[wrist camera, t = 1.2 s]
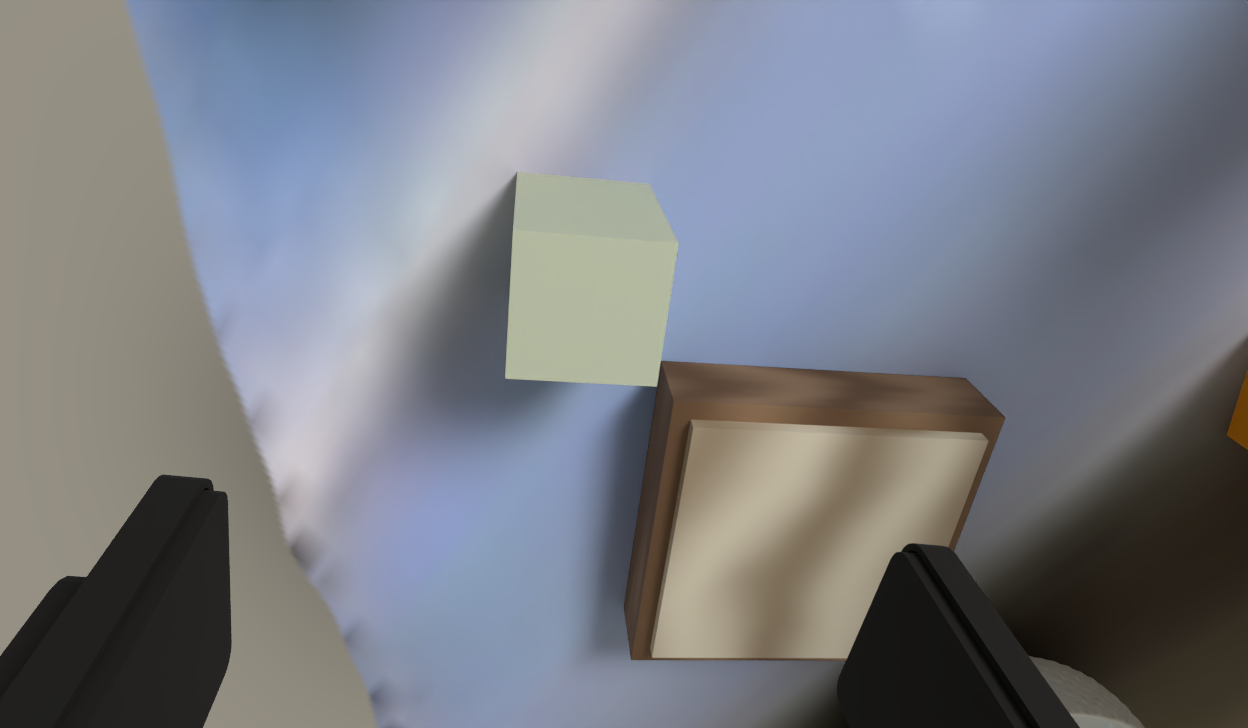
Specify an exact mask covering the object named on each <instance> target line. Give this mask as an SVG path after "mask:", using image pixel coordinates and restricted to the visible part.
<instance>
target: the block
mask: <svg viewBox="0 0 1248 728" xmlns="http://www.w3.org/2000/svg"><path fill="white" fill-rule="evenodd" d="M678 244H679V243H678V241H677V239H676V237H675V235H674V233H673V231H672V229H671V227H670V225H669V223H668V221H667V219H666V217H665V215H664V213H663V211H662V209H661V207H660V205H659V203H658V201H657V198H656V196H655V194H654V192H653V190H652V188H651V186H650V184H646V183H635V182H624V181H613V180H601V179H590V178H579V177H568V176H556V175H545V174H534V173H523V172H517V182H516V196H515V209H514V223H513V239H512V257H511V276H510V295H509V314H508V332H507V351H506V370H505V379H520V380H539V381H558V382H577V383H596V384H615V385H634V386H654V387H657V383H658V376H659V369H660V363H661V356H662V350H663V343H664V336H665V330H666V323H667V317H668V310H669V303H670V297H671V290H672V284H673V277H674V271H675V264H676V257H677V251H678Z"/></svg>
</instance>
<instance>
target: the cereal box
mask: <svg viewBox="0 0 1248 728" xmlns="http://www.w3.org/2000/svg"><path fill="white" fill-rule="evenodd" d="M1227 436H1228V437H1230V438H1231V439H1233V440H1234V441H1236V442H1237V443H1238V444H1240V445H1241V446H1243V447H1244V448H1246V449H1247V450H1248V370H1247V373H1246V376H1245V379H1244V382H1243V386H1242V389H1241V392H1240V395H1239V398H1238V401H1237V404H1236V407H1235V411H1234V414H1233V417H1232V420H1231V423H1230V426H1229V429H1228V432H1227Z"/></svg>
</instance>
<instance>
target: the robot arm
mask: <svg viewBox="0 0 1248 728" xmlns="http://www.w3.org/2000/svg"><path fill="white" fill-rule="evenodd" d="M228 529H229V528H228V500H227V494H226V493H225V492H221V491H214V490H213V484H212V482H211V480H209V479H204V478H194V477H183V476H171V475H161V476H159V477H158V478H157V479H156V480H155V481H154V482H153V484H152V485H151V487H150V488H149V489H148V491H147V492H146V494H145V495H144V497H143V498H142V499H141V501H140V502H139V504H138V505H137V507H136V508H135V509H134V511H133V512H132V514H131V515H130V516H129V518H128V519H127V521H126V522H125V524H124V525H123V526H122V528H121V529H120V531H119V532H118V534H117V535H116V536H115V538H114V539H113V540H112V542H111V543H110V545H109V546H108V548H107V549H106V550H105V552H104V553H103V555H102V556H101V558H100V559H99V560H98V562H97V563H96V565H95V566H94V567H93V569H92V570H91V572H90V573H89V575H88V576H87V577H75V576H66V577H65V578H63V579H61V580H59V581H58V582H57V583H56V584H55V585H54V586H53V587H52V588H51V589H50V590H49V592H48V593H47V594H46V596H45V597H44V599H43V600H42V601H41V602H40V604H39V605H38V606H37V608H36V609H35V611H34V612H33V613H32V614H31V616H30V617H29V619H28V620H27V621H26V622H25V624H24V625H23V627H22V628H21V629H20V631H19V632H18V633H17V635H16V636H15V637H14V639H13V640H12V641H11V643H10V644H9V645H8V647H7V648H6V649H5V651H4V652H3V653H2V655H1V656H0V728H203V726H204V723H205V721H206V718H207V716H208V713H209V711H210V709H211V706H212V704H213V702H214V700H215V697H216V695H217V692H218V690H219V687H220V685H221V683H222V680H223V678H224V676H225V673H226V670H227V667H228V663H229V659H230V653H231V605H230V570H229V569H230V566H229V530H228ZM837 695H838V700H839V703H840V706H841V709H842V711H843V714H844V716H845V718H846V721H847V723H848V725H849V728H1080V727H1079V726H1078V724H1077V723H1076V722H1075V720H1074V719H1073V717H1072V716H1071V715H1070V713H1069V712H1068V710H1067V709H1066V708H1065V706H1064V705H1063V703H1062V702H1061V701H1060V699H1059V698H1058V696H1057V695H1056V694H1055V692H1054V691H1053V689H1052V688H1051V687H1050V685H1049V684H1048V682H1047V681H1046V680H1045V678H1044V677H1043V675H1042V674H1041V673H1040V671H1039V670H1038V668H1037V667H1036V666H1035V664H1034V663H1033V661H1032V660H1031V659H1030V657H1029V656H1028V655H1027V653H1026V652H1025V650H1024V649H1023V648H1022V646H1021V645H1020V643H1019V642H1018V641H1017V639H1016V638H1015V636H1014V635H1013V634H1012V632H1011V631H1010V629H1009V628H1008V627H1007V625H1006V624H1005V622H1004V621H1003V620H1002V618H1001V617H1000V615H999V614H998V613H997V611H996V610H995V608H994V607H993V606H992V604H991V603H990V601H989V600H988V599H987V597H986V596H985V595H984V593H983V592H982V590H981V589H980V588H979V586H978V585H977V583H976V582H975V581H974V579H973V578H972V576H971V575H970V574H969V572H968V571H967V569H966V568H965V567H964V565H963V564H962V562H961V561H960V560H959V558H958V557H957V555H956V554H955V553H954V552H953V551H952V550H951V549H950V548H948V547H946V546H939V545H928V544H917V543H911V544H907V545H906V546H905V547H904V548H903V549H902V551H901V552H896V553H895V554H894V555H893V556H892V558H891V559H890V561H889V564H888V566H887V568H886V571H885V573H884V575H883V577H882V580H881V582H880V584H879V587H878V589H877V591H876V593H875V596H874V598H873V600H872V603H871V605H870V607H869V609H868V612H867V614H866V616H865V619H864V621H863V623H862V626H861V628H860V630H859V632H858V635H857V637H856V639H855V642H854V644H853V646H852V648H851V651H850V653H849V655H848V658H847V660H846V662H845V664H844V667H843V669H842V671H841V674H840V676H839V679H838V684H837Z"/></svg>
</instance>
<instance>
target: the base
mask: <svg viewBox="0 0 1248 728" xmlns="http://www.w3.org/2000/svg"><path fill="white" fill-rule="evenodd" d="M1004 420H1005V417H1004V416H1003V415H1002V414H1001V413H1000V412H999V411H998V410H997V409H996V408H995V407H994V406H993V405H992V404H991V403H990V402H989V401H988V400H987V399H986V398H985V397H984V396H983V395H982V394H981V393H980V392H979V391H978V390H977V389H976V388H975V387H974V386H973V385H972V384H971V383H970V382H969V381H968V380H967V379H966V378H951V377H933V376H915V375H898V374H880V373H863V372H845V371H828V370H810V369H793V368H775V367H758V366H740V365H723V364H705V363H688V362H670V361H661V367H660V373H659V380H658V386H657V393H656V399H655V406H654V413H653V419H652V426H651V432H650V439H649V445H648V452H647V459H646V465H645V472H644V478H643V485H642V491H641V498H640V505H639V511H638V518H637V524H636V531H635V537H634V544H633V551H632V557H631V564H630V570H629V577H628V583H627V590H626V597H625V603H624V611H625V618H626V626H627V633H628V640H629V647H630V655H631V660H835V661H846V660H847V658H848V655H849V653H850V651H851V648H852V646H853V644H854V642H855V639H856V637H857V635H858V632H859V630H860V628H861V626H862V623H863V621H864V619H865V616H866V614H867V612H868V609H869V607H870V605H871V603H872V600H873V598H874V596H875V593H876V591H877V589H878V587H879V584H880V582H881V580H882V577H883V575H884V573H885V571H886V568H887V566H888V564H889V561H890V559H891V558H892V556H893V555H894V554H895V553H896V552H901V551H902V549H903V548H904V547H905V546H906V545H907V544H911V543H917V544H928V545H939V546H946V547H948V548H950V549H951V550H952V551H953V552H954V550H955V547H956V544H957V542H958V539H959V537H960V534H961V531H962V529H963V526H964V524H965V521H966V518H967V516H968V513H969V511H970V508H971V505H972V503H973V500H974V498H975V495H976V492H977V490H978V487H979V485H980V482H981V479H982V477H983V474H984V472H985V469H986V466H987V464H988V461H989V459H990V456H991V453H992V451H993V448H994V446H995V443H996V441H997V438H998V435H999V433H1000V430H1001V428H1002V425H1003V422H1004Z"/></svg>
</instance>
